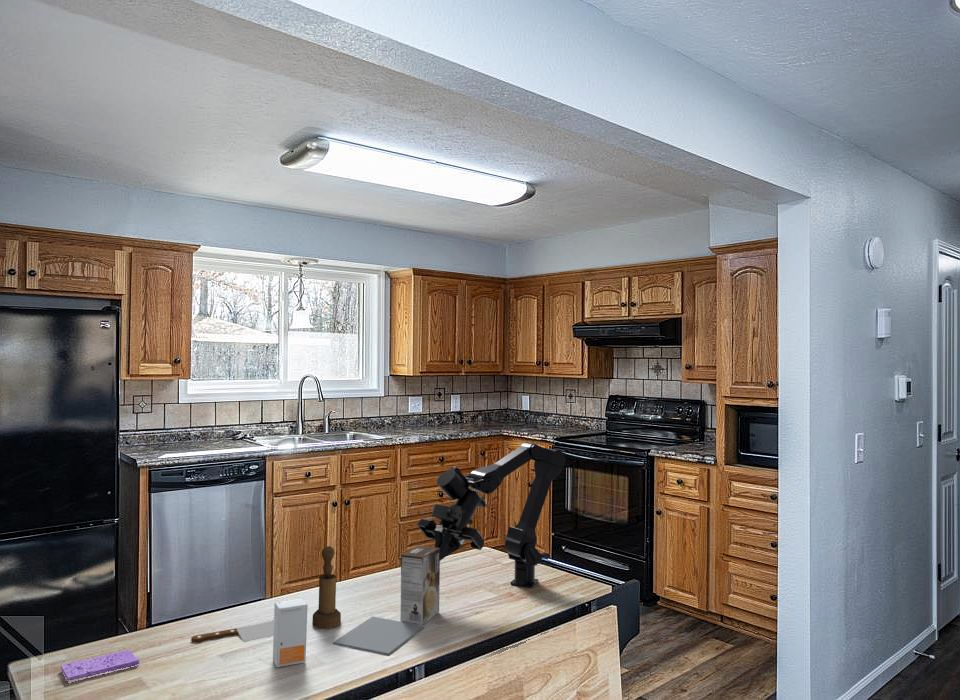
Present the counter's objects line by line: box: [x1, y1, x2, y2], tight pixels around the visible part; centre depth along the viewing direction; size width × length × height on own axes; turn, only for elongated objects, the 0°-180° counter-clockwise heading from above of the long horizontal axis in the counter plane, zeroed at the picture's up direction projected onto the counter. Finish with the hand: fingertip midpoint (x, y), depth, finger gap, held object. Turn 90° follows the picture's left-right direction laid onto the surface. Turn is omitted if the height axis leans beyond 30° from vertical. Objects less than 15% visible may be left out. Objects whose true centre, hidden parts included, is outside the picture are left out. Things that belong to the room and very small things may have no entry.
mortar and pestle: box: [311, 545, 342, 630], centre depth 160 cm, size 7×6×18 cm
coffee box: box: [399, 545, 441, 626], centre depth 165 cm, size 9×6×16 cm
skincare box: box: [272, 598, 309, 668], centre depth 139 cm, size 6×4×12 cm
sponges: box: [60, 649, 140, 681], centre depth 135 cm, size 7×13×2 cm, turn 131°
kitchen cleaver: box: [190, 619, 274, 644], centre depth 153 cm, size 24×1×10 cm
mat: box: [332, 616, 425, 656], centre depth 153 cm, size 16×14×1 cm
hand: (434, 562), depth 169 cm, fingers closed
